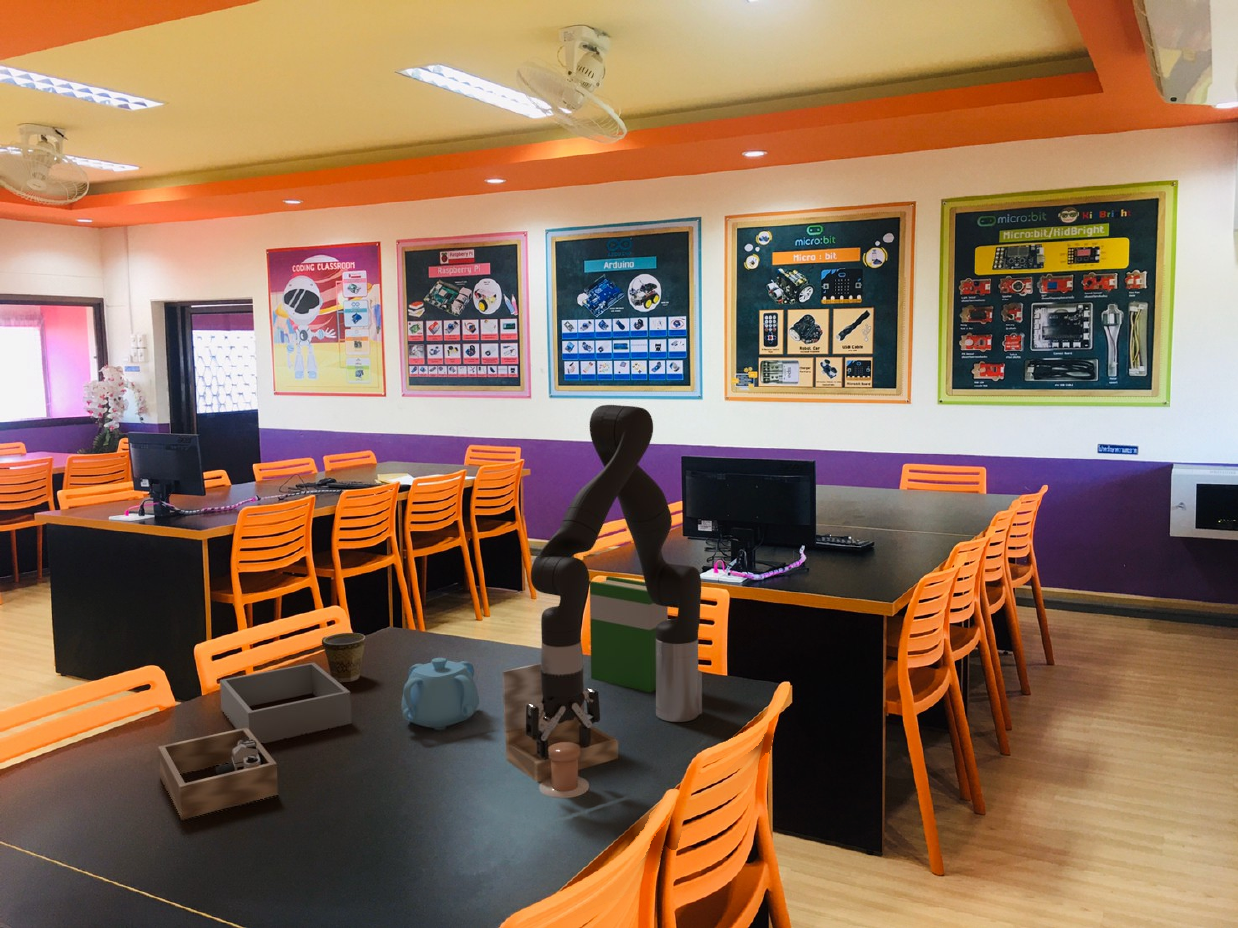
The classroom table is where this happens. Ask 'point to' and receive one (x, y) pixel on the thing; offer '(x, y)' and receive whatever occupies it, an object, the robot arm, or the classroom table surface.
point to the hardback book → (624, 633)
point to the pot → (564, 765)
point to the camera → (241, 757)
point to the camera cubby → (217, 788)
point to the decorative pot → (440, 693)
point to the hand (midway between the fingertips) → (564, 752)
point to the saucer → (549, 791)
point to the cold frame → (523, 749)
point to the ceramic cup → (344, 655)
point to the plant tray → (289, 717)
